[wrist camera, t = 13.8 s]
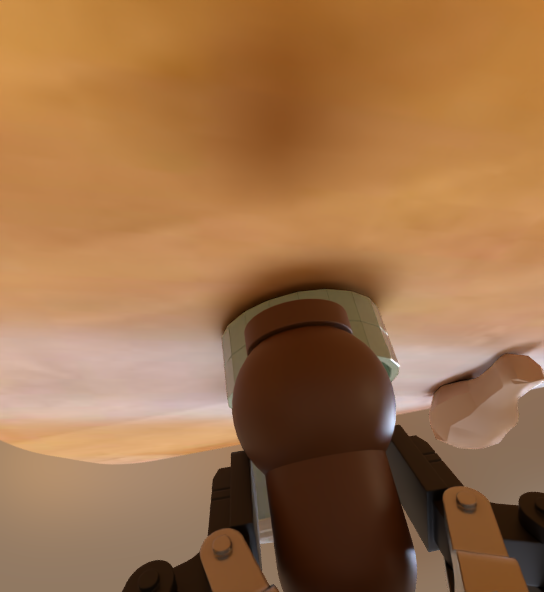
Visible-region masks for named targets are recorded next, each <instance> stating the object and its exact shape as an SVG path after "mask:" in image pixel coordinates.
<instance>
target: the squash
mask: <svg viewBox="0 0 544 592" xmlns="http://www.w3.org/2000/svg"><path fill="white" fill-rule="evenodd" d="M543 382H544V372H543V369H542V368H541V366H540V365H538V364H537V363H536V362H535V361H534V360H532V359H531V358H530V357H529V356H525V355H515V354H505V355H503V356H501V357H500V358H499V359H498V360H497V361H496V362H495V363H494V364H493V365H492V366H491V367H490V368H489V369H488V370H486V371H485V372H484V373H483V374H482V375H481V376H479V377H477V378H474V379H470V380H465V381H459V382H455V383H452V384H448V385H444V386H441V387H440V388H439V389H438V390H437V391H436V392H435V393H434V396H433V400H432V404H431V408H430V412H429V419H430V424H431V428H432V430H433V432H434V435H435V438H436V439H437V440H440V441H442V442H445V443H447V444H450V445H452V446H455V447H458V448H465V449H482V448H485V447H488V446H491V445H494V444H497V443H500V441H501V440H502V439H503V437H504V436H505V435H506V433H507V432H508V431H509V430H511V429H512V428H513V427H514V426H515V425H516V424H517V423H518V417H519V412H518V409H517V405H518V400H519V398H520V397H521V396H522V395H524V394H525V393H526V392H527V391H529V390H530V389H531V388H533V387H535V386H537V385H539V384H541V383H543Z"/></svg>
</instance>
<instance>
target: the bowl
mask: <svg viewBox="0 0 544 592" xmlns="http://www.w3.org/2000/svg"><path fill="white" fill-rule="evenodd" d="M299 299H325V300H329V301H333V302H336V303H338V304H340V305H341V306H342V307H343V308H344V309H345V310H346V313H347V315H348V319H349V322H350V325H351V329H352V332H353V335H354V336H355V337H357V338H358V339H360V340H361V341H362V342H364V343H365V344H366V345H367V346H368V347H369V348H370V349H371V350H372V351H373V352H374V353H375V355H376V356H377V357H378V358H379V360H380V361H381V362H382V364H383V366H384V368H385V369H386V371H387V373H388V376H389V378H390V381H391V382H392V381H393V380H394V379H395V378H396V377H397V375H398V372H399V364H398V361H397V358H396V356H395V353H394V350H393V347H392V345H391V342H390V339H389V336H388V334H387V331H386V328H385V326H384V323H383V320H382V317H381V315H380V312H379V309H378V307H377V306H376V305H375V304H374V303H373V302H372V301H371V299H370V298H369V297H366V296H364V295H361V294H358V293H356V292H353V291H346V290H334V289H319V290H310V291H301V292H297V293H296V292H295V293H292V294H288V295H285V296H281V297H278V298H274V299H271V300H269V301H265V302H263V303H261V304H259V305H257V306H255V307H253V308H251V309H249V310H247V311H245V312H243V313H242V314H241V315H240V316H239V317H237V318H236V319H235V320H234V321H233V322H231V323H230V324H229V325H228V326H227V328H226V330H225V332H224V334H223V336H222V348H223V359H224V369H225V379H226V390H227V400H228V405H229V407H230V408H231V409H232V398H233V390H234V386H235V382H236V378H237V376H238V373H239V371H240V369H241V367H242V365H243V363H244V361H245V360H246V358H247V357H248V356H247V352H246V344H245V336H244V331H245V327H246V325H247V324H248V322H249V321H250V320H251V319H252V318H253V317H254V316H256V315H257V314H259V313H260V312H262V311H264V310H266V309H268V308H270V307H272V306H275V305H278V304H281V303H284V302H288V301H293V300H299Z"/></svg>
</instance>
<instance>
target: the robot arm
mask: <svg viewBox="0 0 544 592" xmlns="http://www.w3.org/2000/svg"><path fill="white" fill-rule="evenodd" d="M386 455H387V459H388V462H389V465H390V469H391V472H392V475H393V479H394V482H395V485H396V489H397V492H398V495H399V499H400V502H401V504H402V506H403V508H404V510H405V511H406V513H407V515H408V517H409V518H410V520H411V522H412V523H413V525H414V527H415V529H416V531H417V532H418V534H419V536H420V538H421V540H422V541H423V543H424V545H425V547H426V548H427V550H428V552H431V551H436V550H440V551H441V553H442V554H443V556H444V570H445V576H446V582H447V588H448V592H544V493H540V492H528V493H525V494H523V495H521V496H520V499H519V506H518V505H506V504H495V503H491V502H489V501H488V499H487V498H486V497H485V496H484V495H482V494H481V493H480V492H478V491H476V490H474V489H471V488H468V487H464V486H463V484H462V483H461V482H460V481H459V480H458V479H457V477H456V476H455V475H454V474H453V473H452V471H451V470H450V469H449V468H448V467H447V466H446V464H445V463H444V462H443V461H442V460H441V458H440V457H439V456H438V455H437V454H436V453H435V451H434V450H433V449H432V447H431V446H430V445H429V444H428V443H427V442H426V441H424V440H422V439H421V438H419V437H417V436H408V435H407V433H406V432H405V431H404V429H403V428H402V427H401V426H400V425H395V427H394V431H393V435H392V438H391V442H390V444H389V446H388V448H387V451H386ZM122 592H279V591H278V589H277V587H276V586H275V585H274V584H273V585H271V586H270V585H269V584H268V582H267V580H266V578H265V576H264V575H263V573H262V564H261V550H260V536H259V522H258V508H257V496H256V487H255V480H254V474H253V468H252V461H251V460H250V459H249V458H248V456H247V454H246V453H245V451H238V452H232V453H231V467H227V468H221V469H219V470H218V471H217V473H216V475H215V476H214V478H213V483H212V495H211V506H210V518H209V528H208V537H207V538H206V539H205V541H204V542H203V544H202V546H201V549H200V552H199V553H198V554H197V555H196V556H194V557H193V558H192V559H190V560H188V561H187V562H185V563H183V564H180V565H178V566H176V567H174V568H173V567H172V566H171V565H170V564H169V563H168V562H166V561H163V560H155V561H151V562H148V563H146V564H144V565H143V566H141V567H140V568H138V569H137V570H136V571H135V572H134V573H133V574H132V575H131V577H130V578H129V579H128V581H127V583H126V585H125V587H124V589H123V591H122Z"/></svg>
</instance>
